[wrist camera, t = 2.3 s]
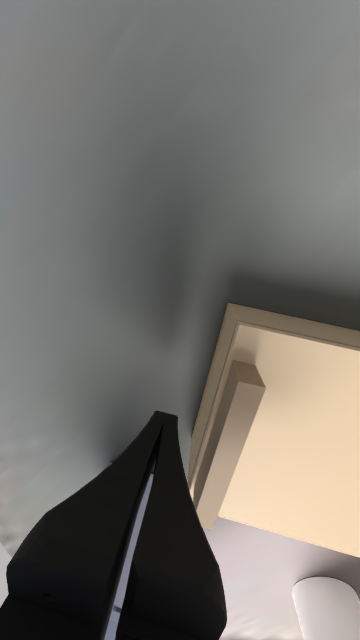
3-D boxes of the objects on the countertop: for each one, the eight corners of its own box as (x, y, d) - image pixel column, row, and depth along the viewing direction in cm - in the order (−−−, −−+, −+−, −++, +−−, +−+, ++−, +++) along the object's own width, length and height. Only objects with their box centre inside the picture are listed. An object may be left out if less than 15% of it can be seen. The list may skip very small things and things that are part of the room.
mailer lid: (413, 562, 14) (459, 629, 11) (186, 497, 15) (181, 544, 12) (570, 394, 9) (698, 441, 7) (237, 321, 11) (247, 338, 8)
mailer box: (357, 481, 19) (409, 556, 14) (191, 437, 20) (186, 492, 15) (443, 349, 14) (559, 390, 10) (227, 302, 16) (237, 319, 11)
